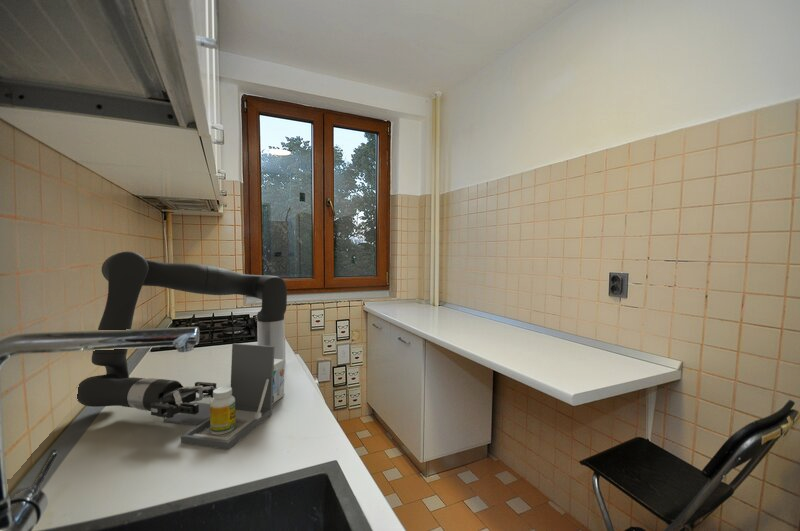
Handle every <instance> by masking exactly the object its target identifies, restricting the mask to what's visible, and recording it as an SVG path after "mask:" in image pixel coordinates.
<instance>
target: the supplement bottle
mask: <svg viewBox="0 0 800 531" xmlns="http://www.w3.org/2000/svg"><path fill="white" fill-rule="evenodd" d="M216 388H217V389H215V390H214V391H213V398H212V399H211V400H210V403H209V404H210V426H209V428H210V432H211V433H212V434H214V435H216V436H217V435H218V436H219V435H225V434H227V433H230V432H233V430H234V429H235V427H236V422H237V421H235V398H234V396H232V395H231V394H232V388H231V386H221V387H216Z"/></svg>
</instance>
